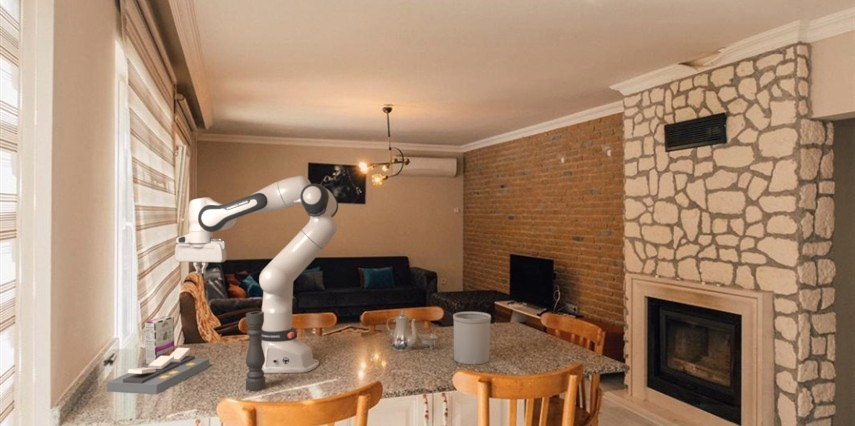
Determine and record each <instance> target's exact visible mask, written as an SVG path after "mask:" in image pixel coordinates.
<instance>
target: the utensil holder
mask: <svg viewBox="0 0 855 426" xmlns="http://www.w3.org/2000/svg"><path fill="white" fill-rule="evenodd" d="M452 318H453V356H454V357H453V359H454V361H455V362H457V363H459V364H464V365H483V364H486V363H488V362H489V361H490V347H491V346H490V344H491V343H490V342H491V320H492V316H491V314H489V313H487V312H482V311H459V312H456V313H454V314H452Z"/></svg>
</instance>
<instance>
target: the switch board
mask: <svg viewBox="0 0 855 426" xmlns="http://www.w3.org/2000/svg"><path fill="white" fill-rule="evenodd" d="M148 365H149V364H146V365H143V366H141V367H140V368H148ZM209 367H210V359H209V358H196V355H186V356H185V357H184V358H183V359H182V360H181V361H180V362H173V361H171V362H170V363H169V364H168V365H166V366H165V367H164V368H162V369H156V372H151V373H144V374H135V373H128V372H127V373H125V374H123V375H121V376H118V377H116V378H113V379H111V380H109V381H107V382H106V392H111V393H113V392H114V393H128V394H129V393H130V394H143V395H144V394H148V395H149V394H150V395H158V394H159V393H162V392H164V391H165V390H168V389H169V388H172V387H174V386H176V385H177V384H179V383H181V382H183V381H186V380H187V379H189V378H190V377H194V376H195V375H197V374H199V373H200V372H202V371H204V370H206V369H207V368H208V369H209Z"/></svg>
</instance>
